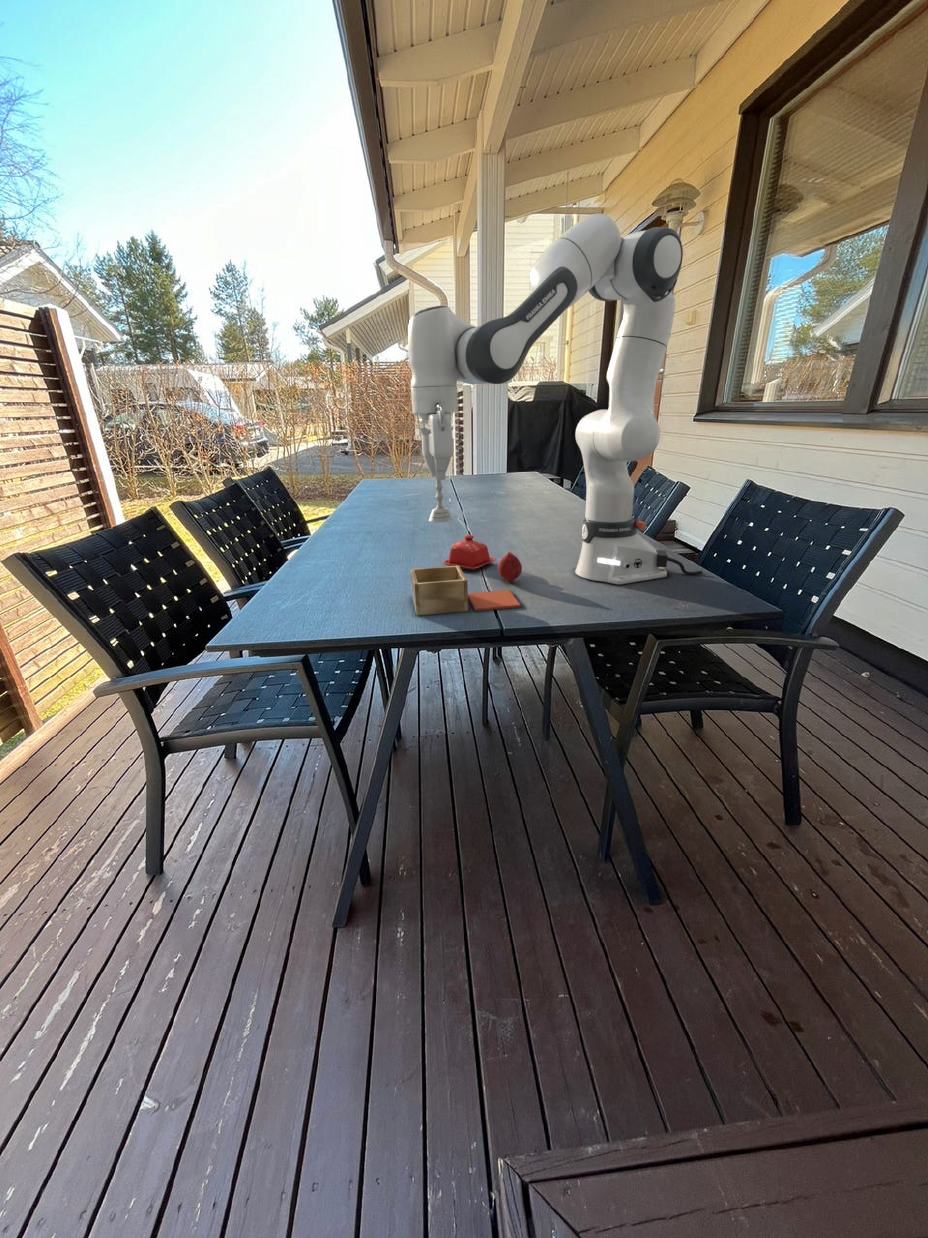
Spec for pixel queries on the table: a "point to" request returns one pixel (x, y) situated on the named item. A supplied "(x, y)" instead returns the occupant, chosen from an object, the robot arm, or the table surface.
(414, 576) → the open wooden box
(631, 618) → the table surface
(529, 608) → the table surface
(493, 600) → the coaster
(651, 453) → the robot arm
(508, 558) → the onion
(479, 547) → the butter dish
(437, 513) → the chalice
